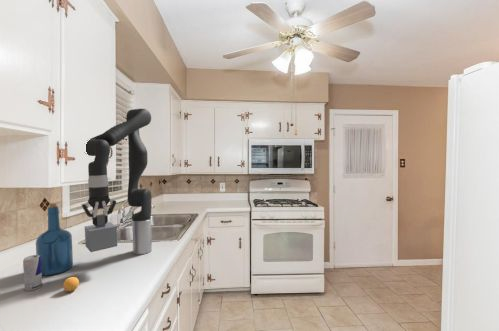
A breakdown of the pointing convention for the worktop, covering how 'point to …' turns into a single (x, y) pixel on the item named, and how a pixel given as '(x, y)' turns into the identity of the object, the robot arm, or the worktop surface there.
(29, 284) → the energy drink
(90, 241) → the gray block with peg
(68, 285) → the ball
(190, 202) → the worktop surface
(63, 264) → the wine bottle
